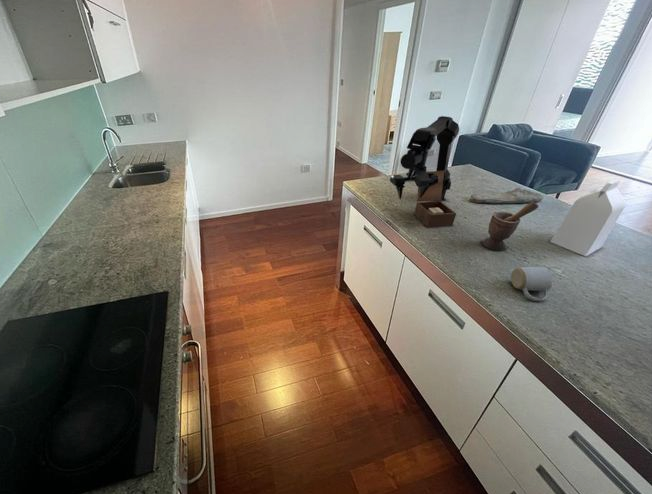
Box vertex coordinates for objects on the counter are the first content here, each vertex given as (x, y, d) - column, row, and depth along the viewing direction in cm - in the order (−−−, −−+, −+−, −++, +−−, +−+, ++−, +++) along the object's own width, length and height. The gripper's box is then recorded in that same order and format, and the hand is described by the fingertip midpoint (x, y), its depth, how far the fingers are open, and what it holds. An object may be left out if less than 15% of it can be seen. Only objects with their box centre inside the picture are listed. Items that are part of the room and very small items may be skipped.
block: (435, 216, 136) (438, 207, 134) (441, 221, 132) (443, 211, 130) (426, 216, 136) (428, 208, 133) (431, 221, 132) (433, 212, 129)
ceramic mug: (505, 279, 99) (515, 261, 95) (532, 280, 98) (542, 262, 94) (523, 302, 90) (534, 283, 86) (552, 303, 89) (565, 284, 85)
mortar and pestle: (506, 240, 119) (527, 194, 108) (519, 252, 112) (543, 205, 101) (477, 240, 120) (495, 194, 109) (488, 252, 112) (508, 205, 101)
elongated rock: (464, 199, 155) (474, 208, 147) (467, 190, 152) (477, 199, 144) (533, 194, 153) (546, 203, 145) (537, 185, 150) (551, 194, 142)
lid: (444, 170, 133) (443, 170, 133) (420, 172, 132) (419, 172, 132) (441, 200, 137) (440, 199, 137) (417, 201, 136) (416, 201, 137)
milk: (585, 256, 109) (628, 190, 95) (550, 241, 117) (584, 179, 103) (601, 247, 113) (643, 183, 99) (565, 234, 122) (600, 173, 108)
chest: (452, 225, 130) (456, 213, 126) (427, 227, 129) (431, 215, 126) (437, 212, 141) (440, 200, 137) (414, 214, 140) (417, 202, 136)
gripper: (404, 170, 111) (397, 207, 120) (451, 167, 112) (440, 204, 121) (392, 161, 120) (386, 196, 129) (436, 159, 122) (427, 193, 130)
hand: (410, 198), depth 127 cm, fingers open, 9 cm apart
